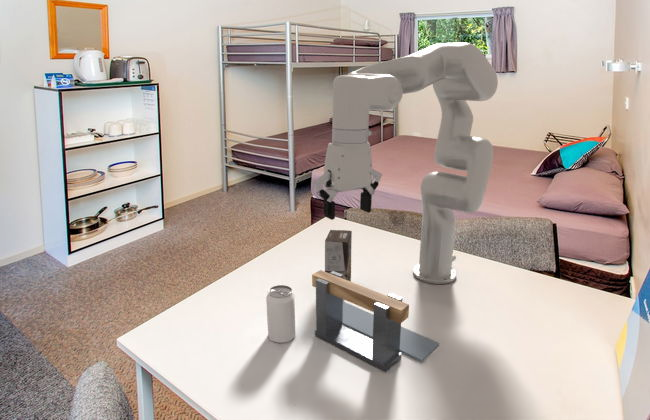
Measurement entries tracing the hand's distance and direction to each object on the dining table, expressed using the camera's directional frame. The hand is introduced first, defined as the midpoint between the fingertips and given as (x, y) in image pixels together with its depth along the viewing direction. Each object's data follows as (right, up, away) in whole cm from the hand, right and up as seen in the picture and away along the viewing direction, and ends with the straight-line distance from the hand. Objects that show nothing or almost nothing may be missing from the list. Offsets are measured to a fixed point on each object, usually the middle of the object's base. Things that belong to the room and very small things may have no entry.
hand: (347, 214), depth 100 cm
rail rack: (+2, -30, +3) cm, 30 cm away
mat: (+8, -28, +9) cm, 31 cm away
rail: (+2, -19, -1) cm, 19 cm away
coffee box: (-1, -21, +30) cm, 37 cm away
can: (-15, -29, +7) cm, 34 cm away
